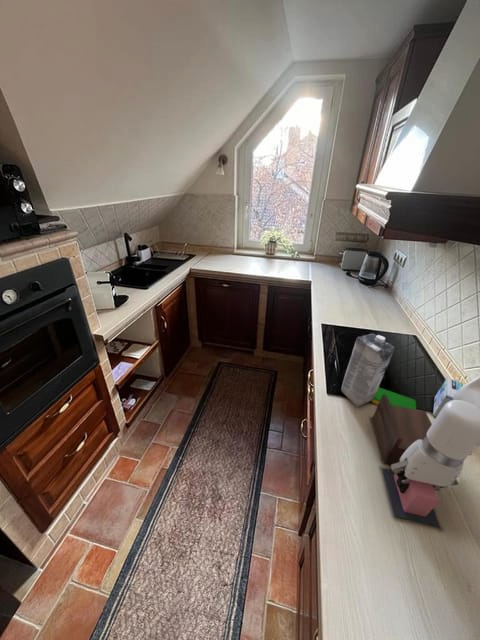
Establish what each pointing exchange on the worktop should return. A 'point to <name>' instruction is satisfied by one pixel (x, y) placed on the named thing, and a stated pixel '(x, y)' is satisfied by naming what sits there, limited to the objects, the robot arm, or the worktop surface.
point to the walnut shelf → (398, 428)
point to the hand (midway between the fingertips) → (412, 489)
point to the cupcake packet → (418, 497)
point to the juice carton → (366, 368)
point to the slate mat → (397, 504)
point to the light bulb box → (445, 394)
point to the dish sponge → (394, 399)
